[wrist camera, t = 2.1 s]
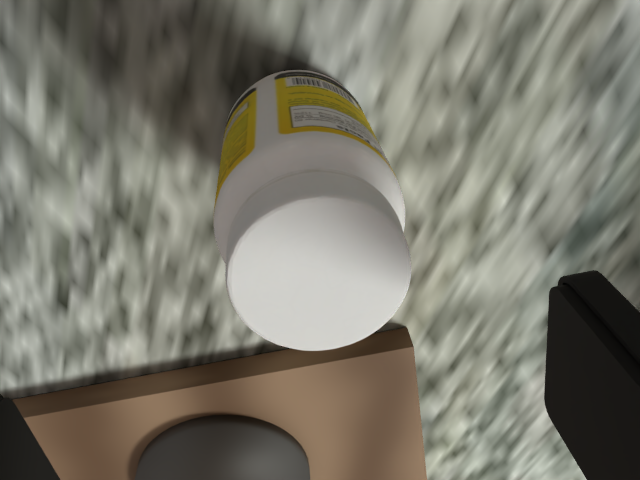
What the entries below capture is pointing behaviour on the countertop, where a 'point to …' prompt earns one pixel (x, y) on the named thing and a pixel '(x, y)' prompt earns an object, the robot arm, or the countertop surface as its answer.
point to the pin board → (245, 419)
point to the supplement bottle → (309, 215)
